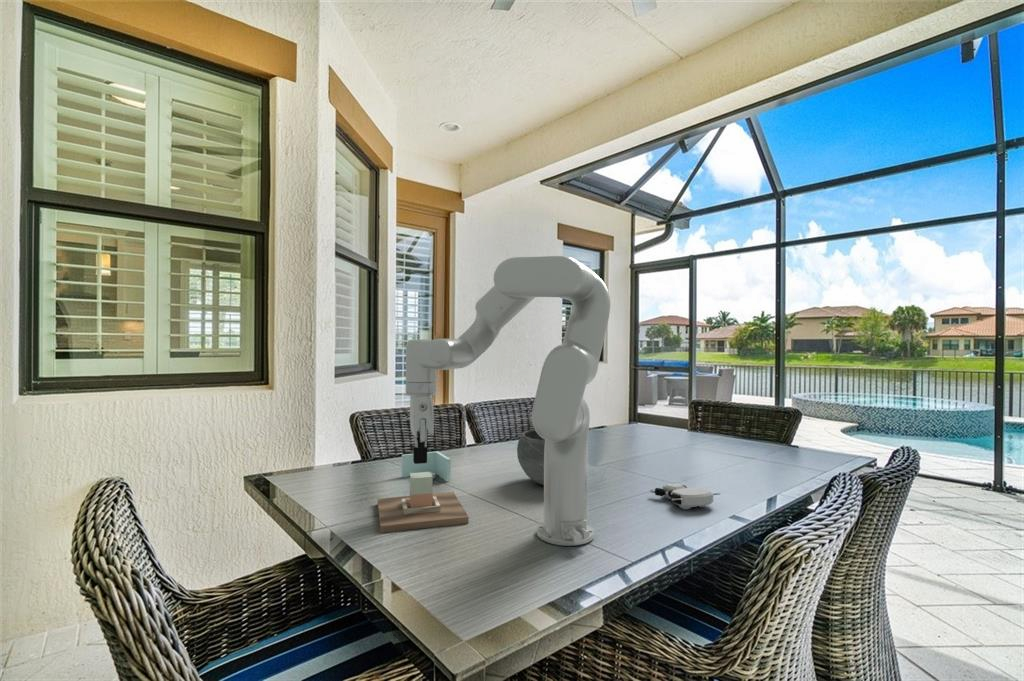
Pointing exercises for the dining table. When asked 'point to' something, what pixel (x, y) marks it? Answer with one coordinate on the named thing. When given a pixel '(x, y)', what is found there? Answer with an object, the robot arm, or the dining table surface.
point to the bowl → (532, 455)
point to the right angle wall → (427, 465)
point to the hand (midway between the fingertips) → (420, 462)
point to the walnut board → (420, 513)
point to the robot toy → (685, 495)
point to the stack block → (420, 489)
